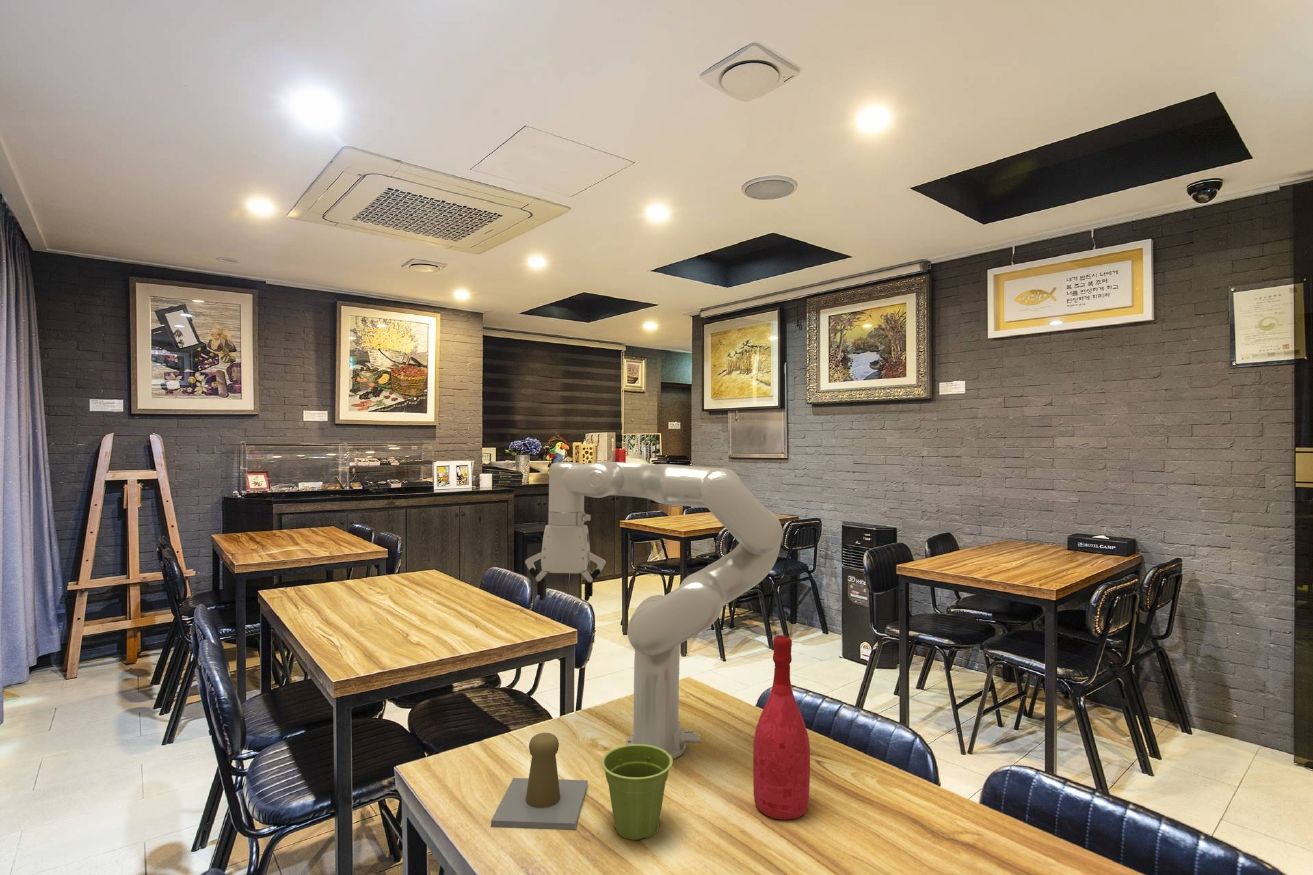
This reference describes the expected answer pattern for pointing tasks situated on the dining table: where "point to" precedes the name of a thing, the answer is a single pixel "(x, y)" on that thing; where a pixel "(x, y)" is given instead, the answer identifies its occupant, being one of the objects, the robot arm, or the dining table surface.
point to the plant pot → (636, 787)
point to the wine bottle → (781, 746)
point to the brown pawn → (543, 772)
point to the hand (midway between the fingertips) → (564, 599)
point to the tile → (555, 817)
